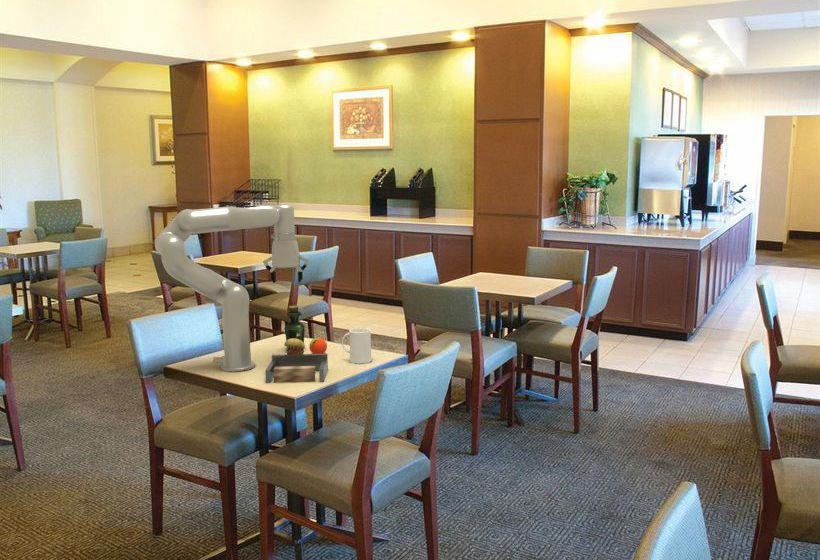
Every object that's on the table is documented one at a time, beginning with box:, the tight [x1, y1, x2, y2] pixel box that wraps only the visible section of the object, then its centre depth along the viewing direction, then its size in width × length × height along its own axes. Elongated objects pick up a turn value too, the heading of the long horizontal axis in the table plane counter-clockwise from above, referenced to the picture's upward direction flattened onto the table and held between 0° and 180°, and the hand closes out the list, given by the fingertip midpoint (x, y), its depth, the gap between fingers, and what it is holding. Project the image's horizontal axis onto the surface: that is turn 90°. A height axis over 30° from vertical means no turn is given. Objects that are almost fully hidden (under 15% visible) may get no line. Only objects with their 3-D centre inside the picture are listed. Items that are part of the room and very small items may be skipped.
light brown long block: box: [272, 366, 317, 383], centre depth 241 cm, size 14×3×5 cm, turn 92°
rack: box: [264, 353, 329, 384], centre depth 247 cm, size 20×15×6 cm
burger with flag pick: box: [283, 333, 305, 355], centre depth 260 cm, size 8×7×12 cm
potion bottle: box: [284, 305, 306, 350], centre depth 282 cm, size 8×8×18 cm
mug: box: [341, 327, 373, 365], centre depth 265 cm, size 12×8×12 cm
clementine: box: [308, 337, 328, 354], centre depth 274 cm, size 8×7×7 cm
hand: (287, 282), depth 265 cm, fingers open, 9 cm apart
